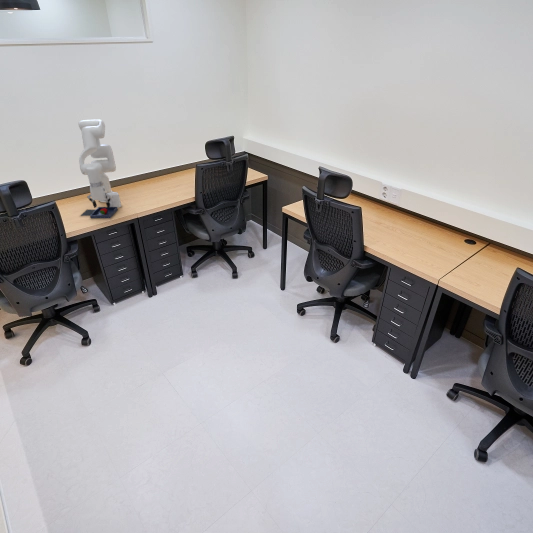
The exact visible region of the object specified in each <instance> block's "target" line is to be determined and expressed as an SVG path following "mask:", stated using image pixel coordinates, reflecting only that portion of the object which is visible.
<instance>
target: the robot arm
mask: <svg viewBox="0 0 533 533" xmlns="http://www.w3.org/2000/svg"><path fill="white" fill-rule="evenodd" d="M78 127H79V130H80V132H81V139H82V144H83V150H82V151H81V153H80V155H79V158H78V164H79V169H80V172H81V174H82V175H84V176H87V178H88V182H89V185H90V186H89V192H90V194H89V195H87V196H86V198H87V199H88V201H90V203H92V206H93V208H94V209H97V208H98V205H97V201H98V202H100V203H105V205H106V207H107V208H109V207H110V203H109V201H110V200H111V197H112V196H111V195H108V194H107V193H110V192H114V191H113V190H112V186H111V182H110V178H109V176H108V175H107V174H106V173H114V172H116V170H117V167H116V161H115V156H114V152H113V148H112V146H111V145H109V144H101V141H100V139H104V138H105V135H106V134H105V133H106V125H105V121H104V120H102V119H101V118H100V119H97V118H96V119H84V120H83V119H82V120H80V121H78ZM88 156H90V157H91V158H93V159H96V160H92V161H91V162H90V163H85V160H86V159H87V157H88ZM108 197H109V199H108Z"/></svg>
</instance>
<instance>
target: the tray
mask: <svg viewBox="0 0 533 533" xmlns="http://www.w3.org/2000/svg"><path fill="white" fill-rule="evenodd" d="M103 208H106V209H107V213H106V214H105V215H102V214H101V213H100V210H101V209H103ZM118 209H119V208H117V207H109V208H107V206H97V207H96V208H95V209H94V210H95V211H94V212H93V213H92V214H91V215H90V216H89V218H90V219H111V218H112V217H113V216H114V215H115V214H116V212H117V211H118Z"/></svg>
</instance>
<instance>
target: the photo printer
mask: <svg viewBox="0 0 533 533" xmlns="http://www.w3.org/2000/svg"><path fill="white" fill-rule="evenodd" d="M107 194H108V195H111V196H112V197H111V200H110V201H109V203H110V207H117V208H118V209H119V208H122V203H121V202H122V201H121V198H120V194H119V192H118V191H113V192H110V193H107ZM108 199H109V197H108Z"/></svg>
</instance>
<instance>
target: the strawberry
mask: <svg viewBox="0 0 533 533" xmlns="http://www.w3.org/2000/svg"><path fill="white" fill-rule="evenodd" d="M100 213H101V214H102V215H105V214H106V213H107V209H106V208H103V209H101V210H100Z"/></svg>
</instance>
